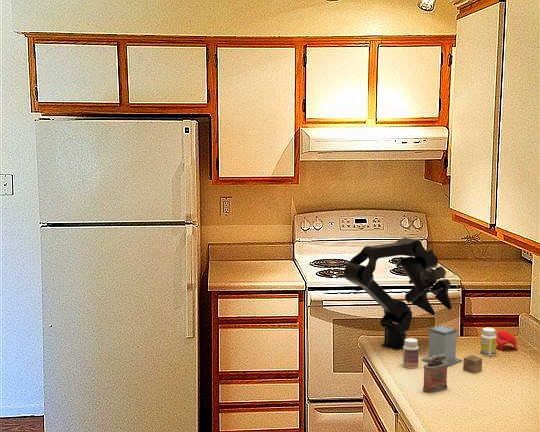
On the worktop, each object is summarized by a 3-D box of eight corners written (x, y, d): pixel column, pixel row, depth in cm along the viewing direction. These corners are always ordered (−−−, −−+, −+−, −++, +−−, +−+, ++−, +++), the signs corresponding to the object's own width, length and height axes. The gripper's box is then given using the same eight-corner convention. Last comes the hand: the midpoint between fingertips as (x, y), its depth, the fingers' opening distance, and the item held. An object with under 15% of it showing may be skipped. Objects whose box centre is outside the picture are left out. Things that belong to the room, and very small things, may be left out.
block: (463, 370, 216) (463, 357, 216) (470, 367, 219) (470, 354, 218) (474, 373, 213) (474, 361, 213) (481, 370, 216) (482, 358, 215)
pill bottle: (421, 367, 218) (422, 341, 217) (407, 369, 217) (408, 343, 216) (413, 362, 223) (413, 336, 222) (399, 364, 221) (400, 338, 220)
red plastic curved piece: (493, 342, 232) (510, 334, 230) (491, 331, 238) (507, 323, 235) (505, 358, 235) (521, 351, 233) (502, 347, 240) (518, 340, 238)
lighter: (427, 393, 198) (429, 360, 197) (420, 389, 201) (421, 356, 199) (449, 388, 202) (451, 355, 200) (441, 384, 205) (443, 351, 203)
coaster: (421, 360, 224) (421, 358, 224) (438, 353, 230) (438, 352, 230) (445, 368, 218) (445, 366, 218) (462, 361, 224) (462, 359, 224)
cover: (428, 358, 224) (429, 328, 223) (439, 354, 228) (440, 325, 227) (444, 364, 220) (445, 333, 218) (455, 359, 224) (456, 329, 222)
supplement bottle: (494, 351, 232) (495, 327, 231) (497, 356, 228) (498, 331, 226) (479, 351, 233) (480, 326, 232) (482, 356, 228) (483, 331, 227)
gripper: (413, 263, 226) (440, 303, 220) (447, 255, 238) (474, 293, 232) (393, 282, 233) (419, 322, 227) (427, 274, 245) (453, 311, 239)
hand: (442, 311), depth 231 cm, fingers open, 9 cm apart
